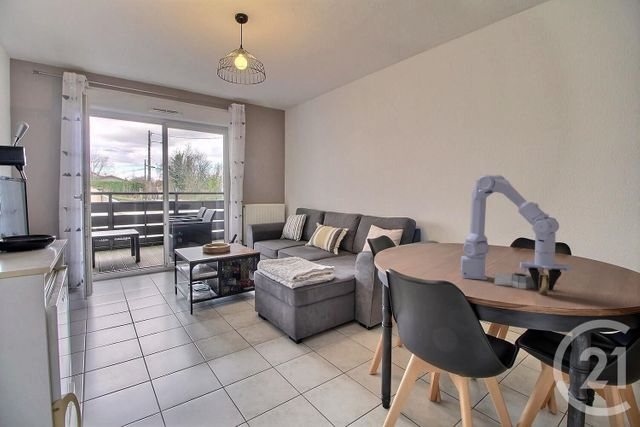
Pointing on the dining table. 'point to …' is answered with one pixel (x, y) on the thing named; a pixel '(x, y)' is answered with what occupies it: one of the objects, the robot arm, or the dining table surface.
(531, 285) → the hinge
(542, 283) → the hinge pin
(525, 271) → the mineral specimen
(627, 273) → the dining table surface
